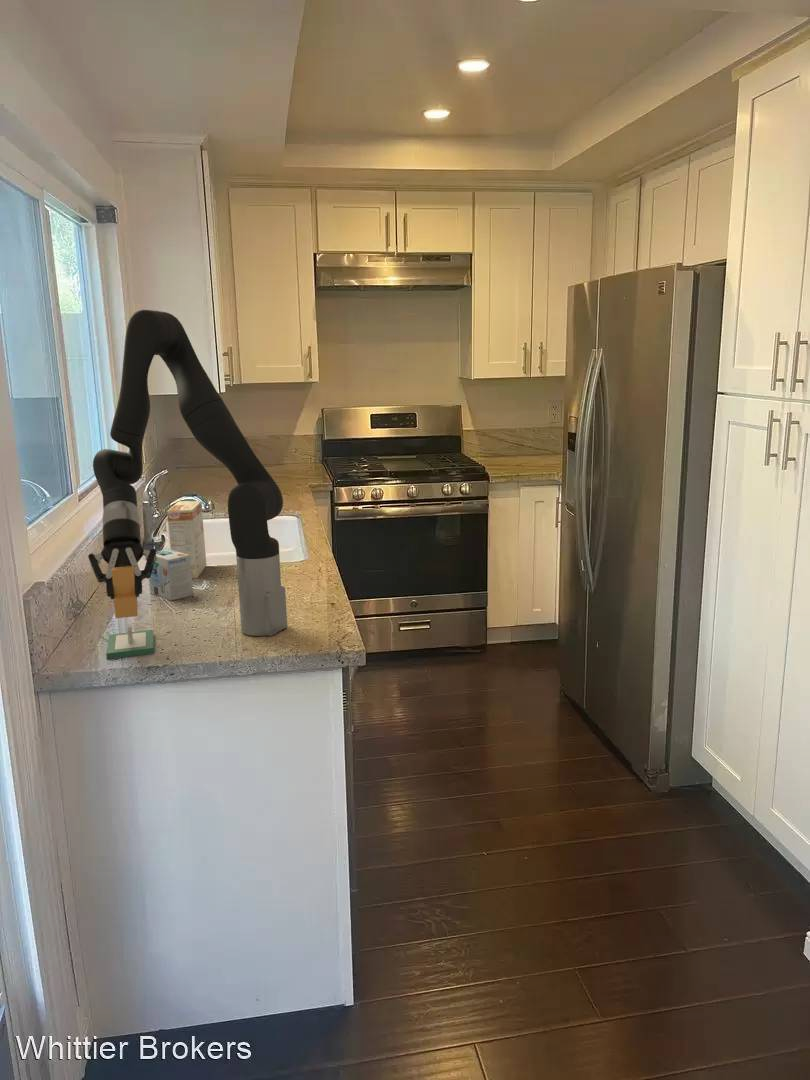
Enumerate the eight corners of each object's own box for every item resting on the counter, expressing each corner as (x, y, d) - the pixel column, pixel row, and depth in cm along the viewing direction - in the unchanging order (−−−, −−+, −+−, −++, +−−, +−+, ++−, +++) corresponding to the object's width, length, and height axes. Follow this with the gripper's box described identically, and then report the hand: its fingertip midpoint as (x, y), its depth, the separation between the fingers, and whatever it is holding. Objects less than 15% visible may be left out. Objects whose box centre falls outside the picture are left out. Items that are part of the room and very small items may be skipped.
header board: (109, 639, 166) (108, 623, 166) (153, 634, 169) (151, 618, 168) (107, 659, 155) (105, 641, 155) (153, 653, 158) (152, 635, 157)
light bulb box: (149, 593, 201) (145, 553, 199) (172, 587, 206) (169, 548, 203) (171, 601, 194) (167, 559, 192) (194, 595, 199) (191, 554, 196)
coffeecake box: (183, 566, 228) (177, 501, 224) (207, 565, 229) (202, 500, 224) (171, 579, 214) (165, 510, 209) (197, 578, 214) (192, 509, 210)
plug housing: (117, 604, 166) (113, 561, 164) (137, 602, 167) (134, 559, 165) (115, 618, 157) (111, 573, 155) (137, 616, 158) (133, 571, 156)
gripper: (83, 519, 161) (85, 590, 153) (155, 514, 166) (160, 583, 157) (88, 538, 167) (89, 608, 159) (156, 533, 172) (162, 601, 163)
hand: (125, 595), depth 158 cm, fingers closed on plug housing, 4 cm apart
